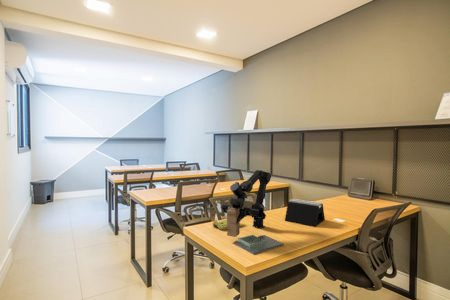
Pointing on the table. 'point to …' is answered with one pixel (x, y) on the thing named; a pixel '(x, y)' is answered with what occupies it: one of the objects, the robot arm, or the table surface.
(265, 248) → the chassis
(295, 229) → the table surface
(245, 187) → the robot arm
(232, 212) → the tall wooden pillar
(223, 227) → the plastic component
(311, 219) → the device stand
